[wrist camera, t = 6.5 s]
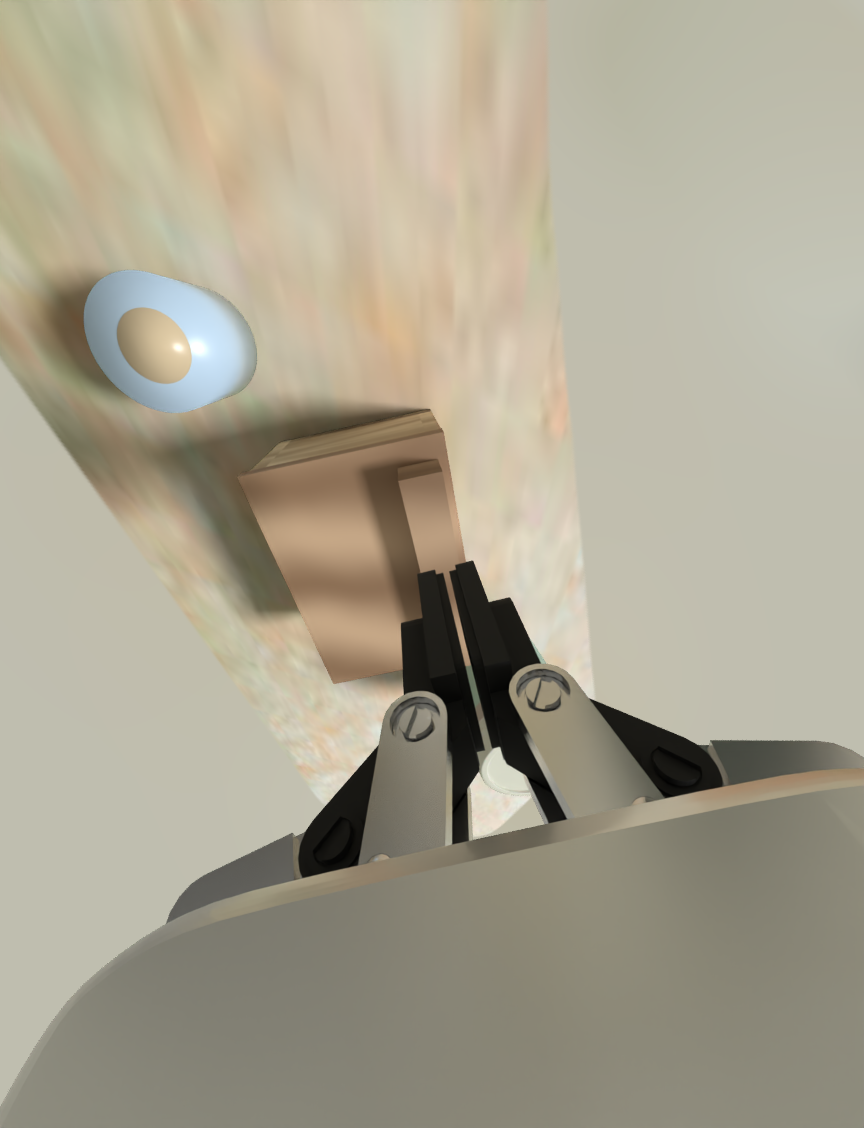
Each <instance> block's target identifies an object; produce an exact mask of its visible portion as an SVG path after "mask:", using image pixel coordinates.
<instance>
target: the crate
mask: <svg viewBox="0 0 864 1128" xmlns="http://www.w3.org/2000/svg"><path fill="white" fill-rule="evenodd" d="M437 429H441V428H440V426H439V425H438V423H437V421H436V419H435V417H434V416H433V414H432V412H431V410H430V409H428V410H424V411H419V412H415V413H410V414H406V415H401V416H397V417H392V418H388V419H383V420H379V421H374V422H370V423H365V424H361V425H356V426H351V427H347V428H342V429H338V430H333V431H329V432H324V433H320V434H315V435H311V436H306V437H302V438H297V439H293V440H288V441H284V442H280V443H279V444H278V445H276V446H275V447H274V448H273V449H272V450H271V451H270V452H269V453H268V454H267V455H266V456H265V457H264V458H263V459H262V460H261V461H260V462H259V463H258V464H257V465H256V466H255V467H253V468H252V469H251V470H255V469H259V468H264V467H268V466H273V465H278V464H282V463H287V462H291V461H296V460H300V459H305V458H309V457H314V456H318V455H323V454H328V453H332V452H337V451H341V450H346V449H350V448H355V447H359V446H364V445H368V444H373V443H378V442H382V441H387V440H391V439H396V438H400V437H405V436H409V435H414V434H418V433H423V432H427V431H432V430H437Z"/></svg>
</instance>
